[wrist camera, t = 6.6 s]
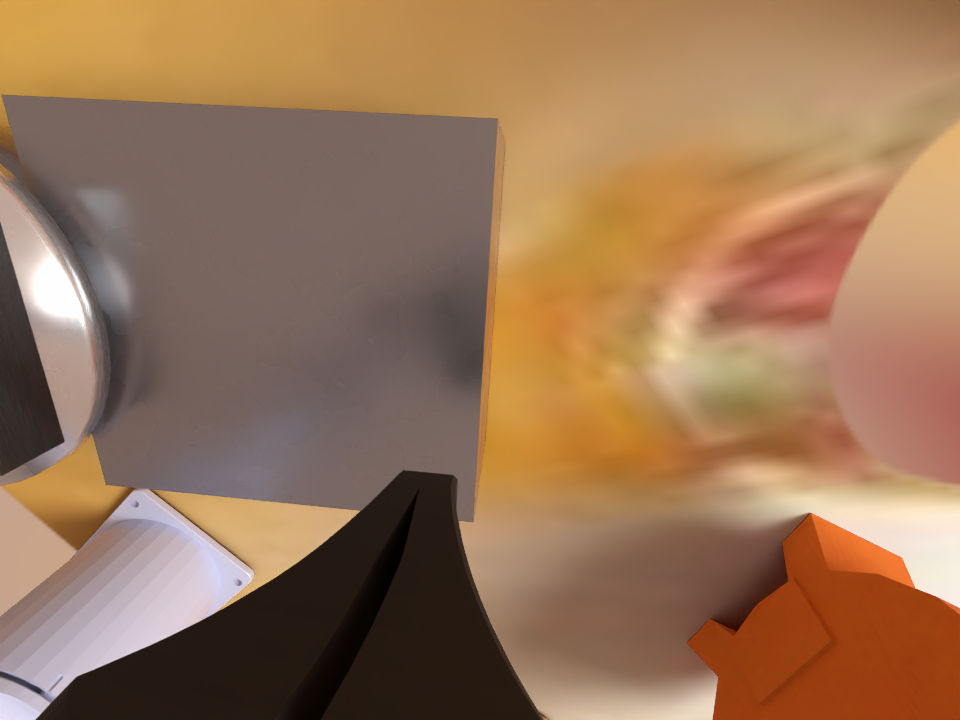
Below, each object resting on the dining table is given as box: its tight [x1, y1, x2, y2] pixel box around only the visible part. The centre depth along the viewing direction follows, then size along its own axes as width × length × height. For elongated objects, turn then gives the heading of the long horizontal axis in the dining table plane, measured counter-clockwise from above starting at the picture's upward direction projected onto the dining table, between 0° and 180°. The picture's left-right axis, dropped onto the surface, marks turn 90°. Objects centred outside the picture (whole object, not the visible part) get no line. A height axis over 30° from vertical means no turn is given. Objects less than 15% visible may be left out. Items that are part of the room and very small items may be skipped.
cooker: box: [0, 95, 505, 522], centre depth 17 cm, size 27×13×8 cm, turn 87°
